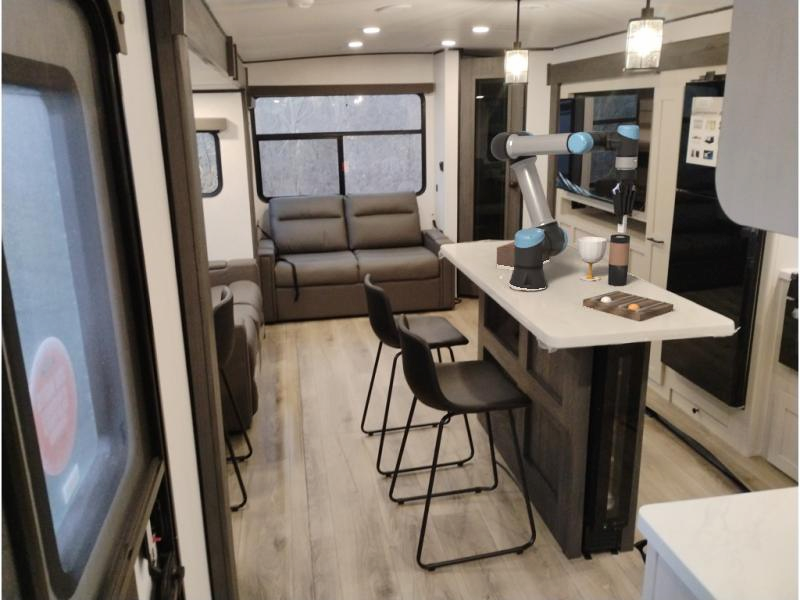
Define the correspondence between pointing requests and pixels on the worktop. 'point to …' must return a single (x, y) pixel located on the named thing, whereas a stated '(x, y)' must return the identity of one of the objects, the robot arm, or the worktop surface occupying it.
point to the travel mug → (618, 259)
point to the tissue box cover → (508, 255)
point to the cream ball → (606, 299)
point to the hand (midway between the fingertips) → (621, 232)
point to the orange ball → (634, 307)
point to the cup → (591, 251)
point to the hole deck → (624, 300)
